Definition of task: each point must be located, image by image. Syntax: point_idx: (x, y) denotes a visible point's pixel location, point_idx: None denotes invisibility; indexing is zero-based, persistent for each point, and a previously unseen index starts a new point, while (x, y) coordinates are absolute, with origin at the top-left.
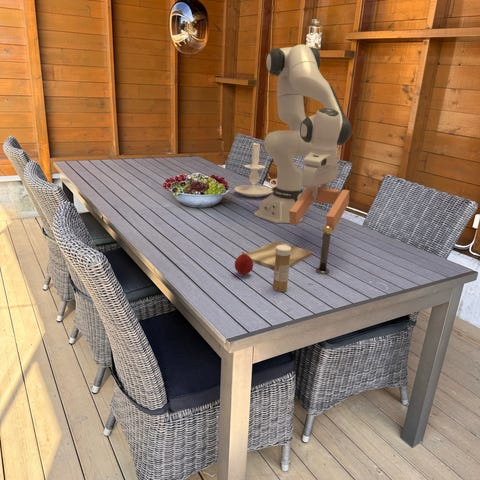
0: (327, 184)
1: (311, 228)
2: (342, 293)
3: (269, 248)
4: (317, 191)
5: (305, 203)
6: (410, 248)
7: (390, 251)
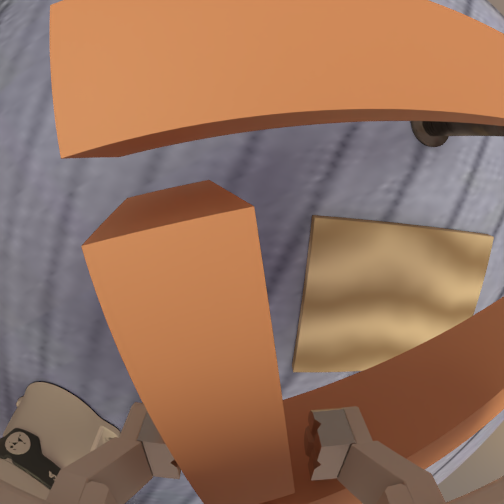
0: (74, 480)
1: (60, 338)
2: None
3: (376, 348)
4: (375, 455)
5: (458, 385)
6: (20, 7)
7: None
